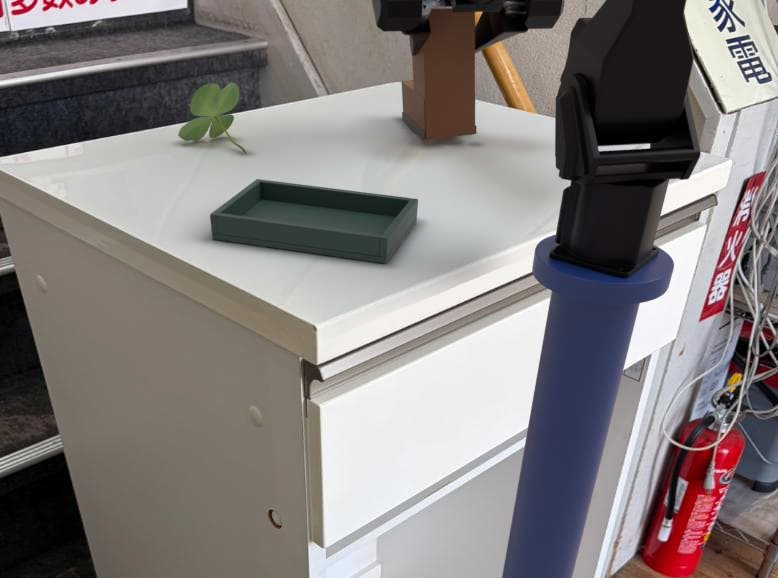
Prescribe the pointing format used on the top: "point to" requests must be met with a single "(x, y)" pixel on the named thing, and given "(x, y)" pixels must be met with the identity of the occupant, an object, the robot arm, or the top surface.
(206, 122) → the green leafy piece
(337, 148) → the top surface
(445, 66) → the boot
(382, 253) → the tray
